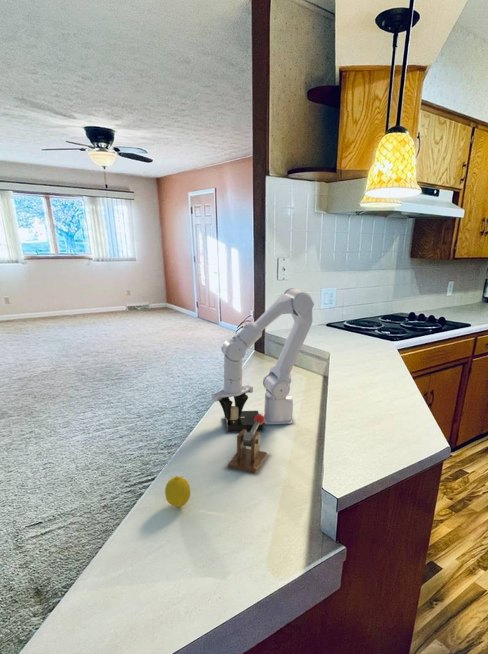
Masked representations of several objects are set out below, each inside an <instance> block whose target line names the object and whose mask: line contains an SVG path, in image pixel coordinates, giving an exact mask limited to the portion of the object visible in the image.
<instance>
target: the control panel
mask: <svg viewBox="0 0 488 654" xmlns="http://www.w3.org/2000/svg"><path fill="white" fill-rule="evenodd" d="M258 414H260V413H259V410H242V412H241V416H238V419H237V420H229V419H227V418H225V417H220V419H221V420H222V419H224V420H225V422H226V429H227V433H240V432H241V431H242V430H243V429H246V432H250V431H251V429H252V427H253V425H254V424H255V421H254V418H255V416H256V415H258ZM262 431H263V424H260V425H259V426H258V428H257V430H256V432H262Z"/></svg>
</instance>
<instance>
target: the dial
mask: <svg viewBox="0 0 488 654" xmlns="http://www.w3.org/2000/svg"><path fill="white" fill-rule="evenodd" d="M237 419H238V407H236V406H235V405H232V406H231V417H230V419H229V420H237Z"/></svg>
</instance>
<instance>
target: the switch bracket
mask: <svg viewBox="0 0 488 654" xmlns="http://www.w3.org/2000/svg"><path fill="white" fill-rule="evenodd" d="M246 433H247V431H246V429H243V430H242V431H241V432H238V434H237V436H236V453H235V455H234V456H233V457H232V459H231V460H230V461H229V462H228V464H227V468H228V469H233V470H237V471H243V472H247V473H253V474H257V472H258V470H259V469H260V467H261V466H262V465H263V463H264V461H265V460H266V458H268V452H267V451H261V450H260V445H261V431H256V432H255V434H254V436H253V437H252V438H251V447H250V448H247V446H244V445H243V438H244V436H245V434H246Z"/></svg>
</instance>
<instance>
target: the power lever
mask: <svg viewBox="0 0 488 654" xmlns="http://www.w3.org/2000/svg"><path fill="white" fill-rule="evenodd" d="M254 421H255V424H254V425H253V427H252V429H251V431H249V432H246V434H245V436H244V438H243V445H244V446H246V447H249V448H251V438H252V437H253V436H254V434H255V433H256V432H257V431H256V430H257V428H258V426H259V425H260V424H262V425H263V424H264V416H263V415H262V413H259V414H258V415H256V416H255V418H254Z"/></svg>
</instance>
